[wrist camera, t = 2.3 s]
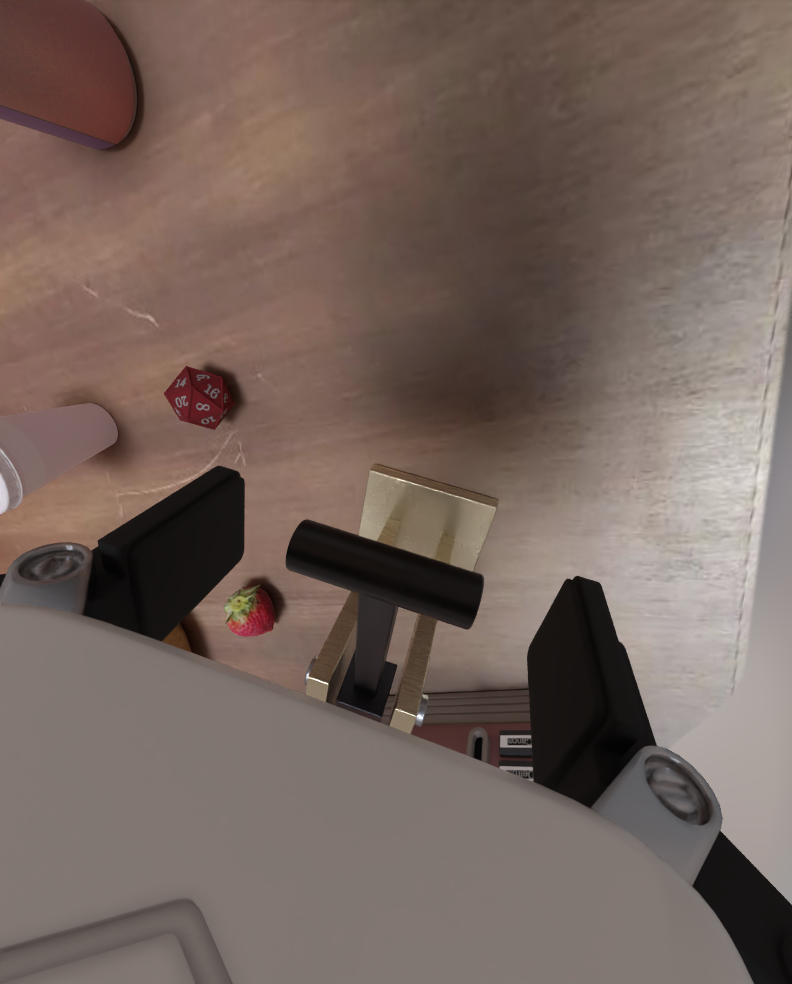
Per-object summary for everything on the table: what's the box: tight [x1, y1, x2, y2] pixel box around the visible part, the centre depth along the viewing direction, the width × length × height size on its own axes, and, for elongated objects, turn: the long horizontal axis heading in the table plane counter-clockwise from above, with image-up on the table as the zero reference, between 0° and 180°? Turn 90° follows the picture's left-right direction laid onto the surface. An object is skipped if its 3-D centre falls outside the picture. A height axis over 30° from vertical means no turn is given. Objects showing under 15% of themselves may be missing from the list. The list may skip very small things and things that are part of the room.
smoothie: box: [0, 403, 118, 514], centre depth 27 cm, size 6×6×14 cm
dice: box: [164, 366, 234, 430], centre depth 27 cm, size 4×4×4 cm
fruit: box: [224, 585, 275, 636], centre depth 36 cm, size 4×6×5 cm
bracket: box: [305, 464, 498, 734], centre depth 25 cm, size 11×9×15 cm
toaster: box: [333, 690, 533, 782], centre depth 37 cm, size 30×36×17 cm
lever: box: [286, 519, 484, 722], centre depth 15 cm, size 14×5×2 cm, turn 169°
